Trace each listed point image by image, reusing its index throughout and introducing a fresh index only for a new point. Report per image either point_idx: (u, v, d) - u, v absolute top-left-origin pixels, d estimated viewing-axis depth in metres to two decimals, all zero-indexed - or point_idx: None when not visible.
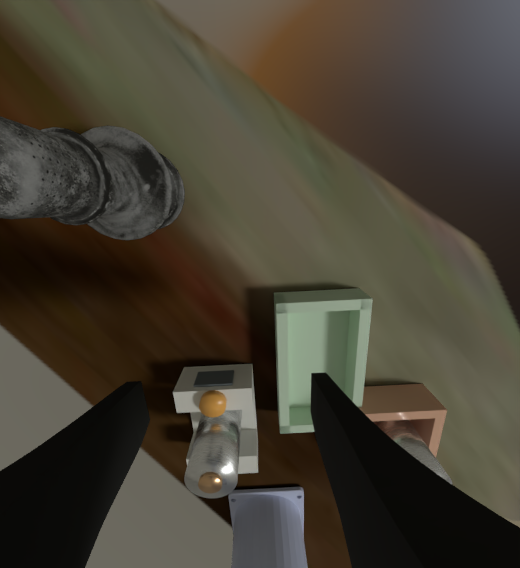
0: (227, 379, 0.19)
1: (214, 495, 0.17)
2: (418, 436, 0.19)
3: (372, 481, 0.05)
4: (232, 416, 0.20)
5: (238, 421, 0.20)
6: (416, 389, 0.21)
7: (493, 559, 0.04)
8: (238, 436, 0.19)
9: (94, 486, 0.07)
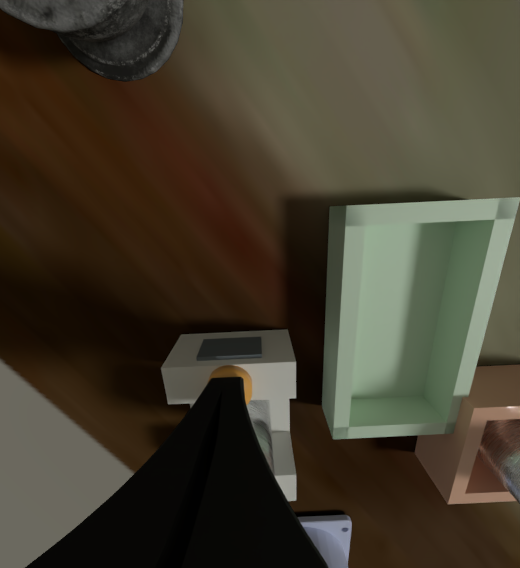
0: (252, 349, 0.11)
1: None
2: None
3: (205, 489, 0.05)
4: (259, 410, 0.12)
5: (268, 419, 0.12)
6: None
7: None
8: (271, 444, 0.11)
9: None
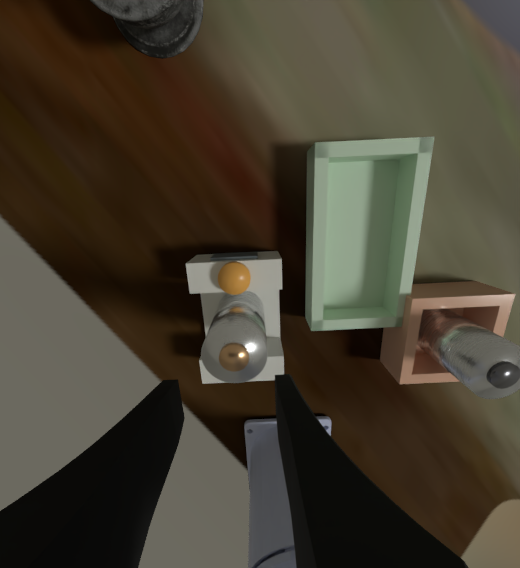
0: (251, 254, 0.16)
1: (237, 378, 0.13)
2: (481, 326, 0.16)
3: (300, 484, 0.05)
4: (256, 304, 0.16)
5: (262, 312, 0.17)
6: (470, 284, 0.18)
7: (390, 564, 0.04)
8: (264, 322, 0.16)
9: (144, 484, 0.07)
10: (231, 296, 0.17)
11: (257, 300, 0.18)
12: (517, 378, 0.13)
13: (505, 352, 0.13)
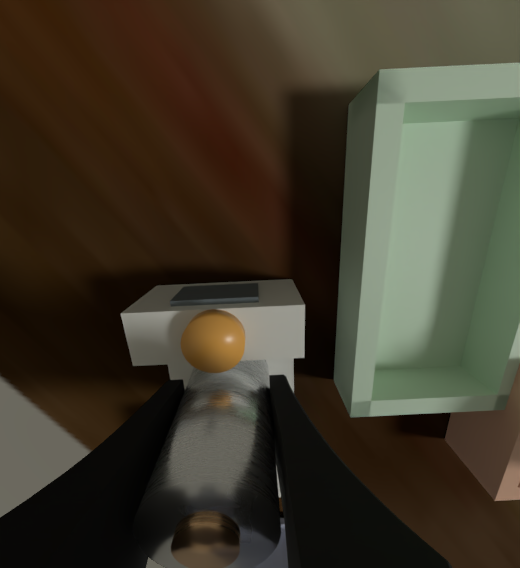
0: (246, 293, 0.09)
1: None
2: None
3: (290, 485, 0.05)
4: (256, 377, 0.09)
5: (267, 390, 0.10)
6: None
7: (374, 565, 0.04)
8: (270, 419, 0.08)
9: None
10: None
11: (259, 363, 0.10)
12: None
13: None
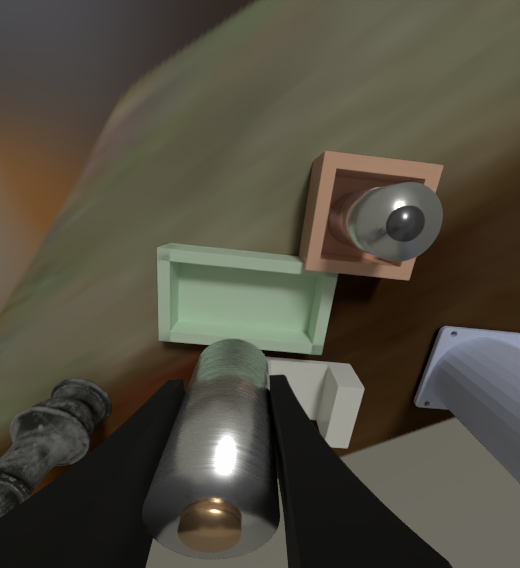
0: None
1: (219, 552, 0.07)
2: (353, 200, 0.13)
3: (290, 485, 0.05)
4: (256, 374, 0.10)
5: (267, 386, 0.10)
6: (312, 175, 0.16)
7: (375, 564, 0.04)
8: (270, 414, 0.09)
9: None
10: (215, 357, 0.10)
11: (259, 360, 0.11)
12: (414, 209, 0.11)
13: (373, 222, 0.11)
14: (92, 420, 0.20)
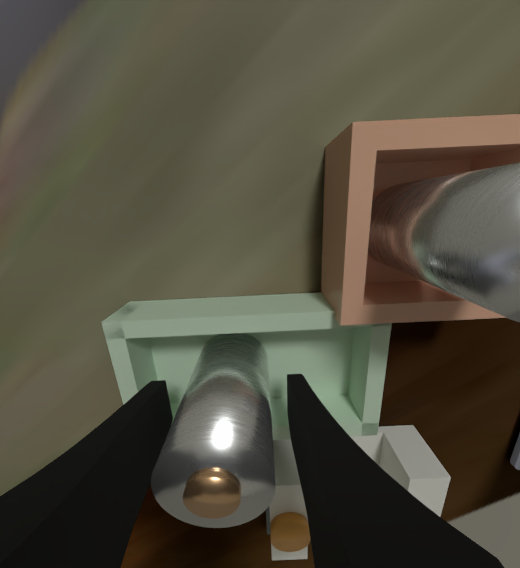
0: None
1: (221, 520, 0.07)
2: (417, 203, 0.07)
3: (324, 483, 0.05)
4: (255, 363, 0.10)
5: (265, 374, 0.11)
6: (329, 169, 0.10)
7: (424, 562, 0.04)
8: (268, 399, 0.09)
9: (128, 485, 0.07)
10: (217, 347, 0.11)
11: (258, 351, 0.11)
12: None
13: (499, 253, 0.05)
14: None
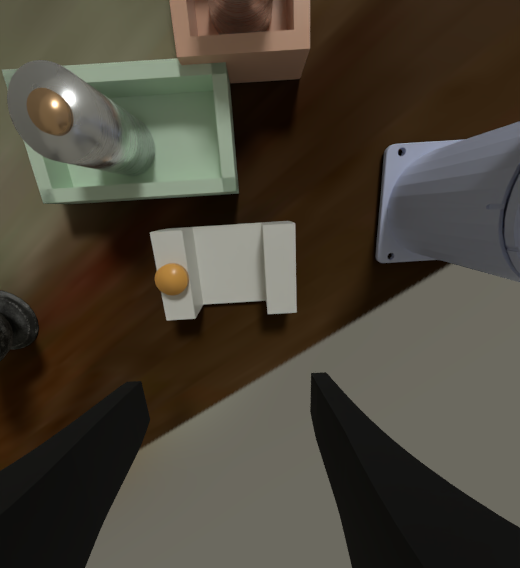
0: None
1: (65, 153, 0.10)
2: None
3: (372, 481, 0.05)
4: (125, 110, 0.13)
5: (135, 123, 0.14)
6: None
7: (493, 559, 0.04)
8: (126, 120, 0.12)
9: (94, 486, 0.07)
10: None
11: (137, 119, 0.14)
12: None
13: None
14: (4, 325, 0.17)
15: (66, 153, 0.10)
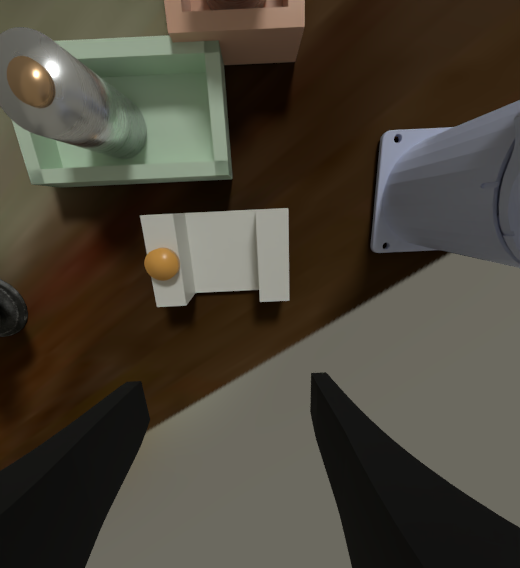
0: None
1: (46, 127, 0.10)
2: None
3: (372, 481, 0.05)
4: (116, 89, 0.13)
5: (126, 104, 0.13)
6: None
7: (493, 559, 0.04)
8: (115, 99, 0.12)
9: (94, 486, 0.07)
10: None
11: (129, 100, 0.14)
12: None
13: None
14: None
15: (47, 127, 0.10)
